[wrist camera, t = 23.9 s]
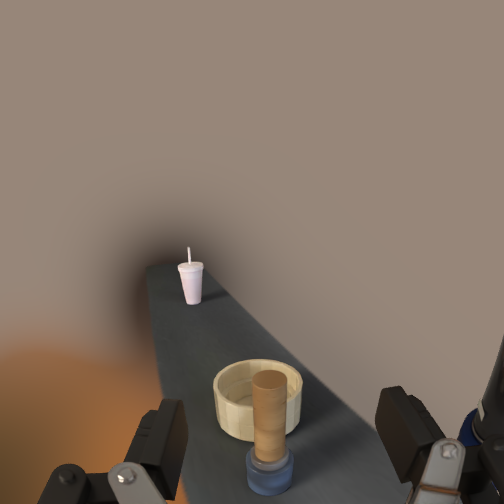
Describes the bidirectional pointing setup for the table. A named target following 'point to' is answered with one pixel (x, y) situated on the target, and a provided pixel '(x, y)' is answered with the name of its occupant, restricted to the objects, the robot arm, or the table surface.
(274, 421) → the brush
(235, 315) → the table surface
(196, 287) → the smoothie
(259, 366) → the bowl
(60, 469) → the robot arm
